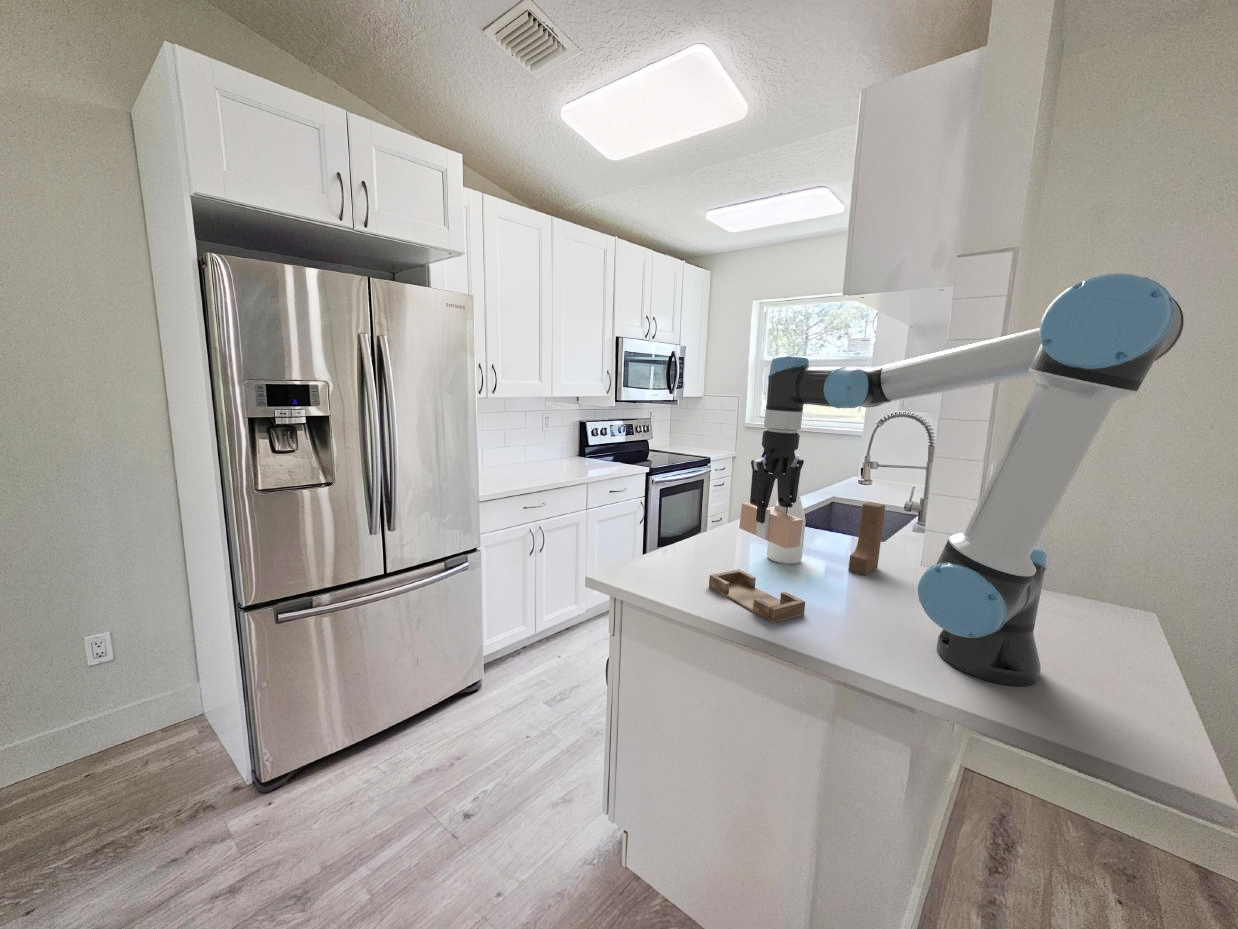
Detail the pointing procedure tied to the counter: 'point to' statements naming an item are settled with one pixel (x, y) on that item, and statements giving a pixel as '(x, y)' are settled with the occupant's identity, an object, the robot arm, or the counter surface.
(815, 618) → the counter surface
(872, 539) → the wooden block
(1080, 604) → the counter surface
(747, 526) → the peach rectangular block
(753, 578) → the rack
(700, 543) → the counter surface
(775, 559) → the wine bottle
